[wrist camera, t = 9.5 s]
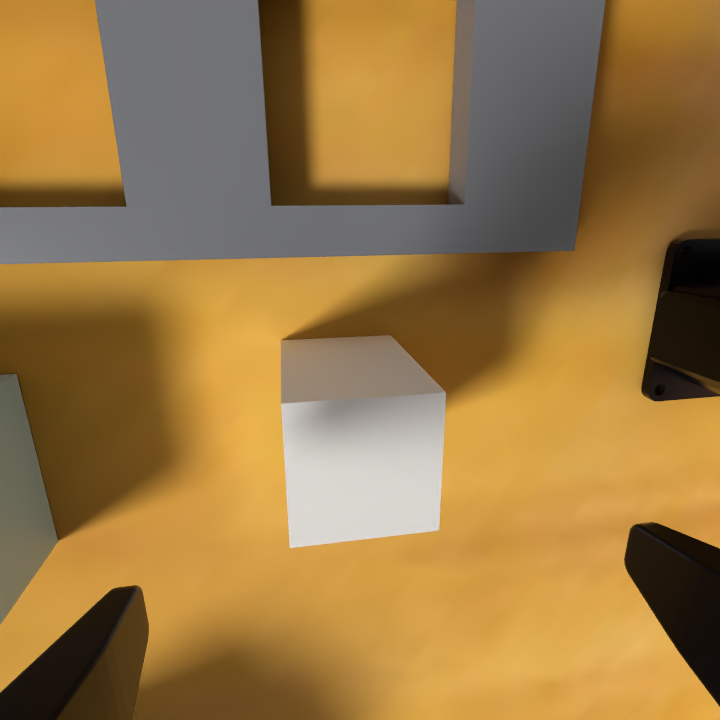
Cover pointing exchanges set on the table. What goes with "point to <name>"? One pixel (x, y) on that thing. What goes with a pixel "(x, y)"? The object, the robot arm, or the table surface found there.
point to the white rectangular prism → (359, 440)
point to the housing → (20, 500)
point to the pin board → (251, 158)
